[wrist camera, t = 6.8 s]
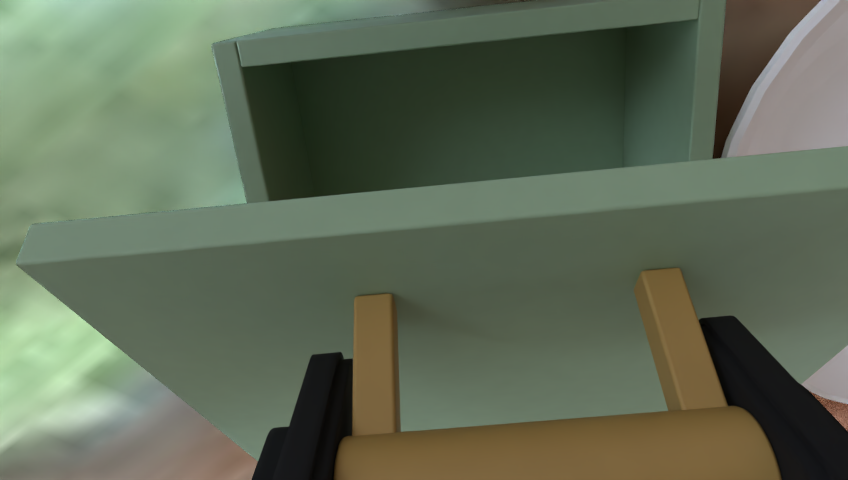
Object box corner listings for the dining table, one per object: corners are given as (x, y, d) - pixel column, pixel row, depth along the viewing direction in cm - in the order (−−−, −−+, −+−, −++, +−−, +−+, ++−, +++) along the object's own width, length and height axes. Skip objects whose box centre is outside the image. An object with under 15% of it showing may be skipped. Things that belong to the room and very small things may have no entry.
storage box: (270, 28, 26) (209, 43, 18) (640, -12, 25) (728, -12, 18) (335, 373, 32) (309, 483, 25) (628, 348, 32) (687, 454, 24)
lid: (29, 222, 10) (-112, 575, 7) (1031, 126, 9) (1331, 472, 6) (308, 481, 25) (300, 624, 22) (689, 452, 24) (731, 596, 21)
